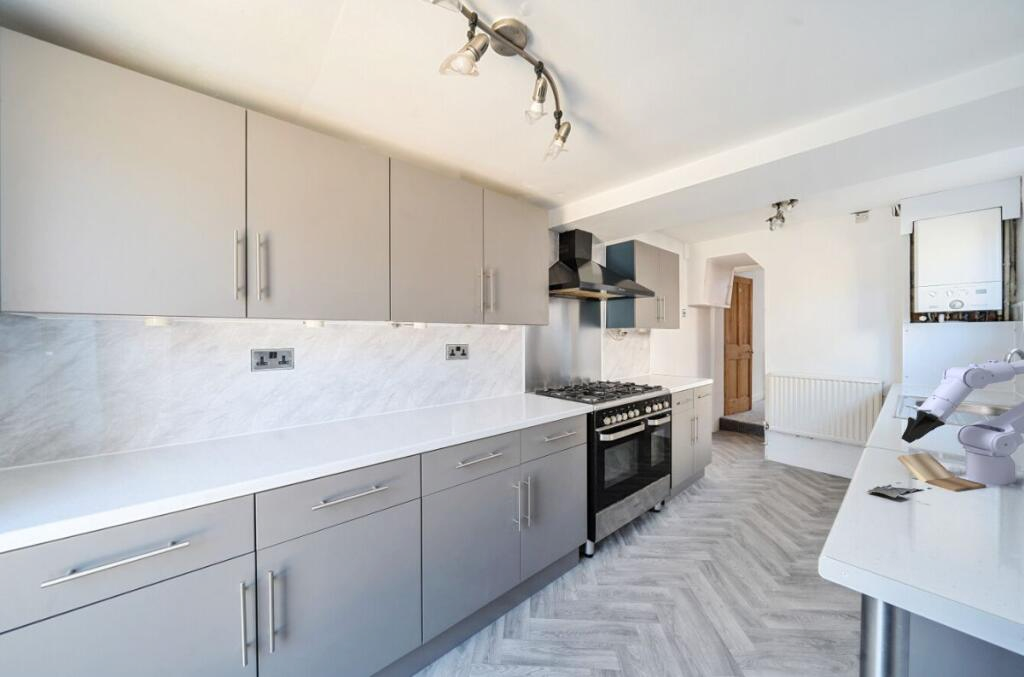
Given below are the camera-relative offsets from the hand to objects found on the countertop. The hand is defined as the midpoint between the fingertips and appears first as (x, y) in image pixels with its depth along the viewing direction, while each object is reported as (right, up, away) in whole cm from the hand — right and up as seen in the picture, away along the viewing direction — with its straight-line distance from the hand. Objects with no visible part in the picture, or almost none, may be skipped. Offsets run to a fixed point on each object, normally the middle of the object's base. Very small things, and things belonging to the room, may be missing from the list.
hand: (909, 439), depth 106 cm
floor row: (+6, -12, 0) cm, 14 cm away
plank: (+6, -9, +2) cm, 11 cm away
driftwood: (-8, -13, -6) cm, 16 cm away
